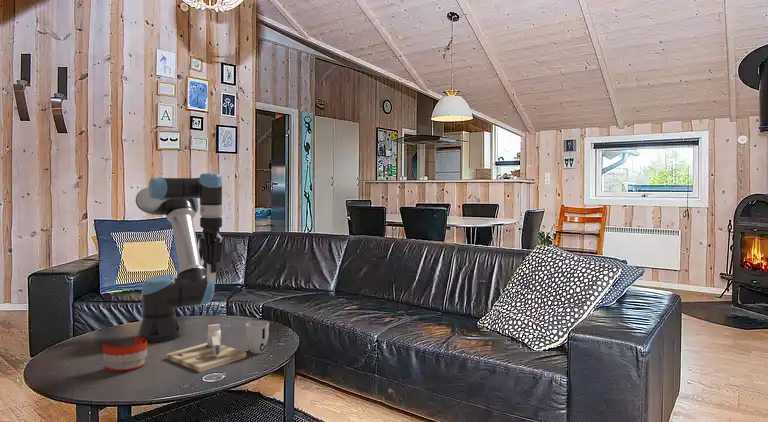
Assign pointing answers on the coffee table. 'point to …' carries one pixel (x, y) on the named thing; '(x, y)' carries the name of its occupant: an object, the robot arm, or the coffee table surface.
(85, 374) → the coffee table surface
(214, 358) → the board
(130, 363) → the toy
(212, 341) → the lever
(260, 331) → the cup
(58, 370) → the coffee table surface
